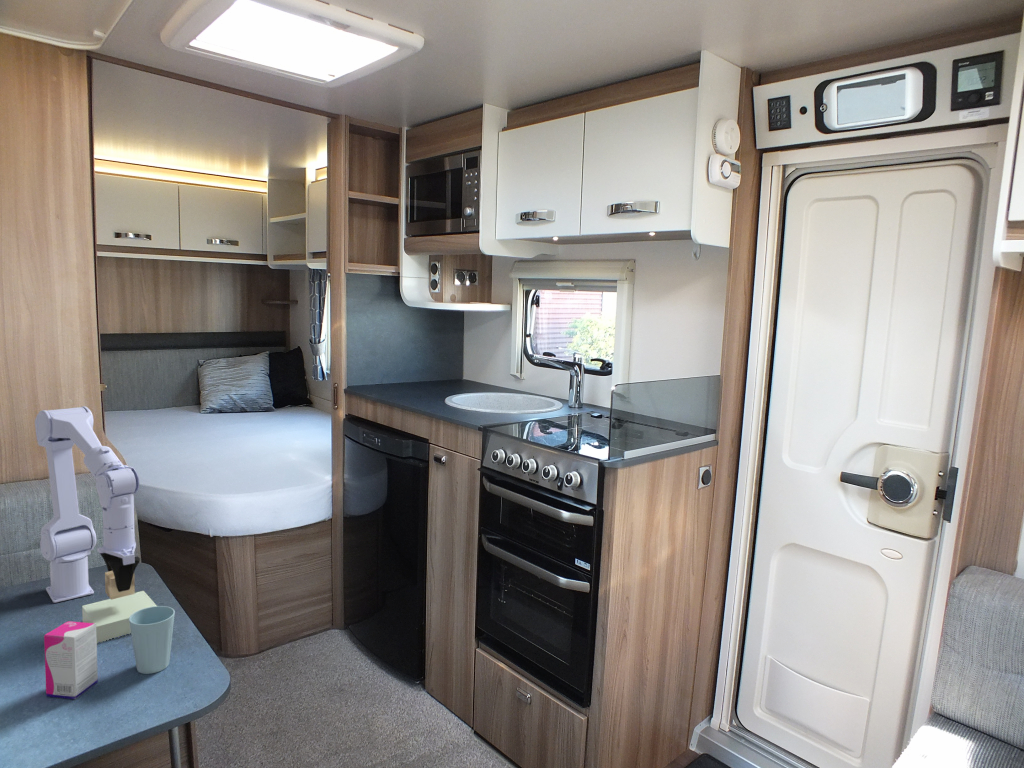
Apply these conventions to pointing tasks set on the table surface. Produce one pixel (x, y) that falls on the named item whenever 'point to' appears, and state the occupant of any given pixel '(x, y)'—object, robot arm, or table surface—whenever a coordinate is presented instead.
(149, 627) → the cup
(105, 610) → the green box
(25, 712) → the table surface
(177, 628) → the table surface
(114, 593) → the birch block
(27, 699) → the table surface
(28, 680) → the table surface
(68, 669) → the supplement box
